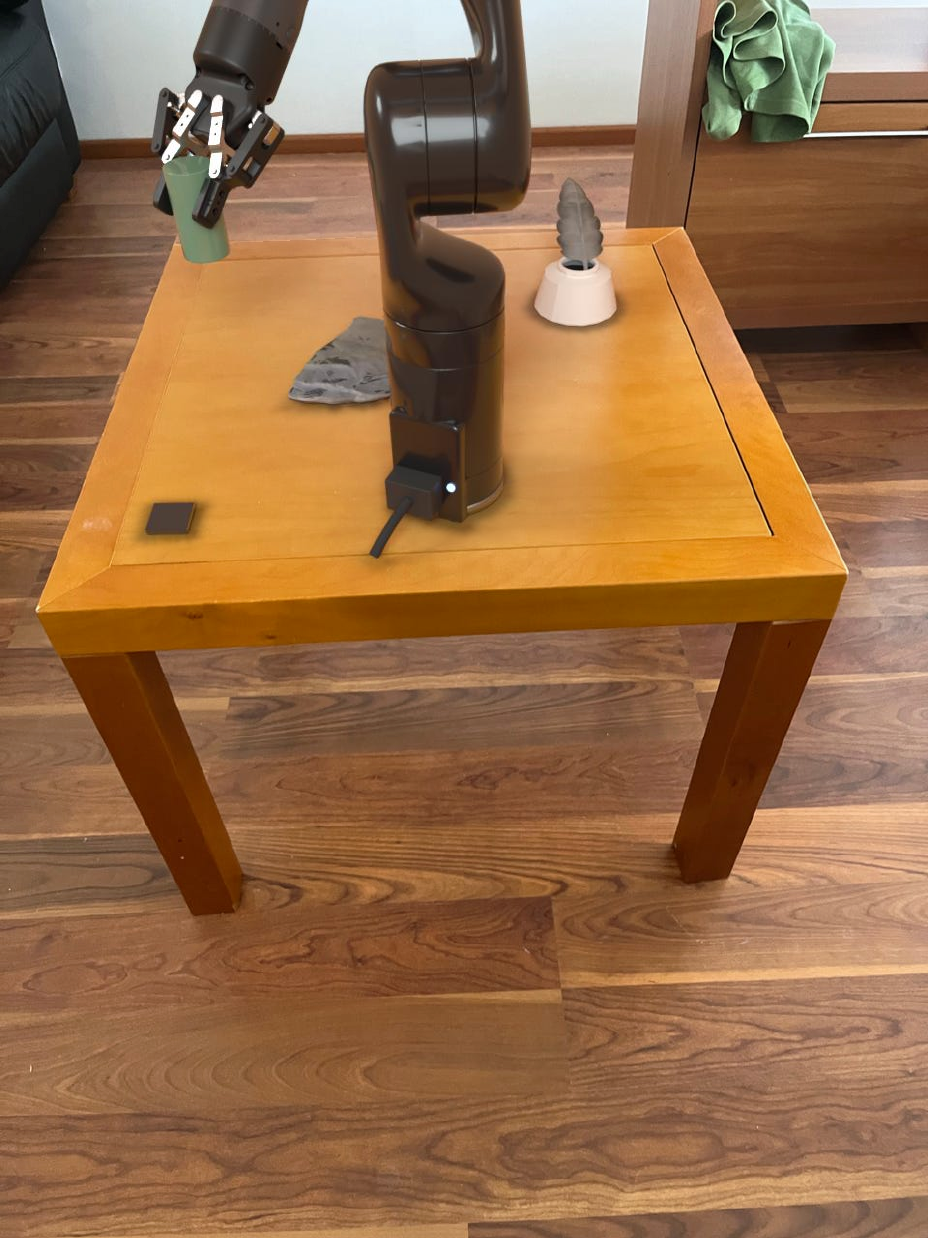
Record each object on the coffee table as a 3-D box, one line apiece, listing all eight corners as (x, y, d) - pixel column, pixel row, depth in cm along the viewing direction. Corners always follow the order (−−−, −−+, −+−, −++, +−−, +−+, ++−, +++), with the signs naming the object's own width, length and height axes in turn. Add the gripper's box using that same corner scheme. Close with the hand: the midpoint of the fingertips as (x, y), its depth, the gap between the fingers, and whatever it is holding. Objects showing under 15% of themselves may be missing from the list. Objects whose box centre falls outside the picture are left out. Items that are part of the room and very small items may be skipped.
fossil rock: (499, 350, 98) (499, 329, 96) (462, 432, 88) (462, 411, 86) (341, 329, 101) (339, 309, 99) (288, 406, 91) (285, 385, 90)
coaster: (188, 533, 78) (186, 528, 78) (146, 534, 78) (144, 529, 78) (195, 507, 81) (194, 501, 80) (155, 507, 81) (153, 502, 80)
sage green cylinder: (223, 264, 87) (204, 175, 81) (177, 263, 87) (155, 174, 81) (236, 243, 90) (218, 155, 84) (191, 242, 90) (171, 154, 84)
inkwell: (540, 329, 100) (544, 238, 93) (517, 254, 113) (520, 168, 106) (625, 324, 101) (635, 233, 94) (593, 249, 113) (600, 163, 106)
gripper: (165, -9, 82) (97, 180, 84) (286, 14, 76) (210, 217, 78) (221, 44, 88) (157, 218, 90) (336, 69, 83) (265, 255, 85)
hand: (182, 216), depth 84 cm, fingers closed on sage green cylinder, 4 cm apart
